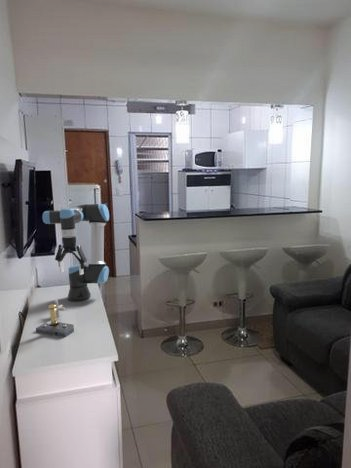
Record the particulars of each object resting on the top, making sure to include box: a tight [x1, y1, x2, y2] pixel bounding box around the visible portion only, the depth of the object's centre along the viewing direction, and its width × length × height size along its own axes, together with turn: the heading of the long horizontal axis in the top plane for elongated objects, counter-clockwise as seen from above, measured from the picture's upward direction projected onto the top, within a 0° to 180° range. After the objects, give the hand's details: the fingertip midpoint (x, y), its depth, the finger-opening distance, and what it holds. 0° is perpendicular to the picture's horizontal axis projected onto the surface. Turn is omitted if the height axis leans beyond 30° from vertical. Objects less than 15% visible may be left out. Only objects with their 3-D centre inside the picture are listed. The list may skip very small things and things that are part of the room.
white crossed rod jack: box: [48, 300, 66, 318], centre depth 213 cm, size 10×10×10 cm
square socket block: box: [35, 321, 75, 338], centre depth 193 cm, size 7×20×5 cm, turn 67°
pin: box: [48, 303, 58, 327], centre depth 192 cm, size 4×4×15 cm
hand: (71, 273), depth 201 cm, fingers open, 13 cm apart
